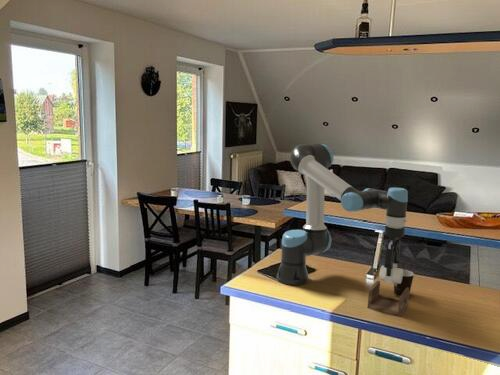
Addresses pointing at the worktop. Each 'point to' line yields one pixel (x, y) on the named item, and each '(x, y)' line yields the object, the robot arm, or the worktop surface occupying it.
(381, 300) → the holder
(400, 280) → the roll
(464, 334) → the worktop surface
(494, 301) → the worktop surface
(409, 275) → the coffee mug
